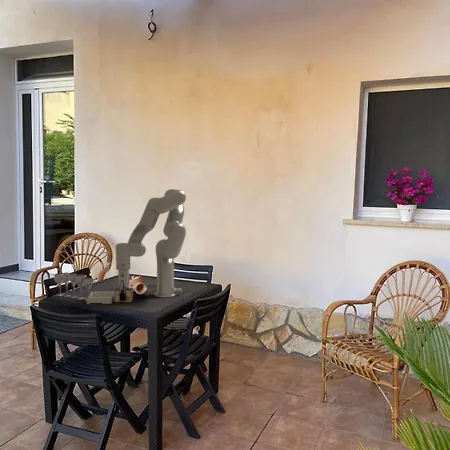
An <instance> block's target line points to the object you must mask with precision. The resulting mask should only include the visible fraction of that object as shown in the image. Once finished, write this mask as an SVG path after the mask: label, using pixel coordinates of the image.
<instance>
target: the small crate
mask: <svg viewBox="0 0 450 450" xmlns="http://www.w3.org/2000/svg"><path fill="white" fill-rule="evenodd" d="M133 288H134V287H128V288H125V293H126V301H120V288H119V287H116V288H115V289H114V291H113V292H114V300H113V302H115V303H122V302H123V303H131V302H132V301H133V299H134V291H133V290H134V289H133Z"/></svg>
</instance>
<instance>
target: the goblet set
mask: <svg viewBox="0 0 450 450" xmlns="http://www.w3.org/2000/svg"><path fill="white" fill-rule="evenodd" d="M53 280H54V282H55V283H57V285H58V286H59V293H57V294H56V295H55V296H56V297H57V296H58V297H62V296H63V297H64V298H69V297H70V299H77V301H79V300H80V301H81V300H84V301H85V302H87V297H88V296H89V294H90V289H91V288H92V285H93V282H94V281H93V277H91V276H90V277H89V276H87V277H86V274H85V273H78V274H77V273H76V272H71V273H70V272H68V271H67V272H57V273H55V274H54V277H53ZM69 282H70V284H71V286H72V288H73V291H75V289H76V288H75V286H76V285H77V286H78V288H79V290H80V297H79V296H77V295H75V294H73V296H72V295H71V294H68V292H66V293H61V292H62V291H61V288H62V284H63V283H64V285H65V289H66V290H68V285H69ZM83 287H85V289H86V290H87V297H85V296H83V293H82V292H83V291H82V289H83Z"/></svg>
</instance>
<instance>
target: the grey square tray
mask: <svg viewBox="0 0 450 450" xmlns="http://www.w3.org/2000/svg"><path fill="white" fill-rule="evenodd" d="M86 299H87V301H86V305H91V304H90V303H102V304H104V305H105V304H107V305H108V304H110V305H111V304H112V303H113V302H114V291H91V292H89V296H88V295H87V296H86ZM102 304H101V305H102Z"/></svg>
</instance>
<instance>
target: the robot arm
mask: <svg viewBox="0 0 450 450" xmlns="http://www.w3.org/2000/svg"><path fill="white" fill-rule="evenodd" d="M186 200H187V196H186V192H184V191H183V190H181V189H173V188H172V189H170V188H169V189H168V190H166V191H165V192H164V195H163V196H161V197H152V198H149V200H148V201H147V203H146V206H145V208H144V210H143V213H142V215H141V218H140V219H139V222H138V223H137V225H136V226H135V228H134V229H133V230H132V232H131V233H130V237H129V238H128V241H127V242H120V243H117V244H116V246H115V270H117V271H118V272H117V274H118V275H117V276H118V278H117V281H118V285H117V286H118V288H120V301H126V293H125V288H130V287H129V286H130V284H131V283H130V270H131V257H136V258H139V257H143V256H144V255H145V254H146V252H147V248H146V246H145V244H143V243H142V242H143V240H144V239H145V236H146V235H147V234H148V233H150V232H151V231H152V230H153V229H155V227H156V225H157V222H158V219H159V218H160V215H161V214H166V213H168V215H167V217H166V220H165V223H164V227H163V235H164V236H165V237H167V238H165V239H163V238H162V239H160V240H158V242H156V244H155V245H156V246H155V255H156V291H155V292H153V293H154V294H153V295H154V297H157V298H172V297H175V296H177V293H182V292H183V289H182V288H180V287H175V260H174V259H176V258H177V257H179V255H180V253H181V251H182V249H183V244H184V241H185V238H186V235H187V230H186V229H187V228H186V227H185V225H184V224H183V219H184V216H185V206H184V203H186Z"/></svg>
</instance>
